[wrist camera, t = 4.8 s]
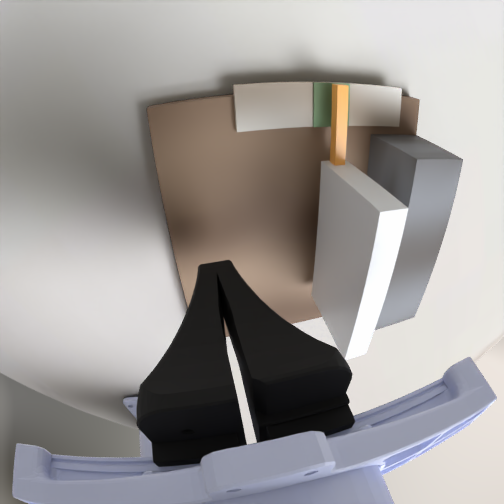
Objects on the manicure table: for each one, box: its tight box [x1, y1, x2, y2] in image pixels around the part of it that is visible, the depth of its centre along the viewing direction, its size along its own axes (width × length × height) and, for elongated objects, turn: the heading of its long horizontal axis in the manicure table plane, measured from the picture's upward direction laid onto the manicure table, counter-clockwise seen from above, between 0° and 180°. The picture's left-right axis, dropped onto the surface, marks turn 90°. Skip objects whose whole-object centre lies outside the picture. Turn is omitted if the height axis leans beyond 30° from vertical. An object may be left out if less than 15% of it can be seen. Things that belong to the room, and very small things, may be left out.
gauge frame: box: [147, 82, 463, 337], centre depth 15 cm, size 14×13×4 cm
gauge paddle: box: [311, 84, 408, 360], centre depth 13 cm, size 12×1×5 cm, turn 3°
